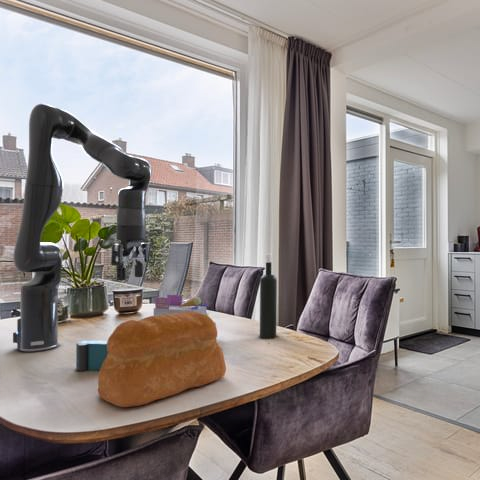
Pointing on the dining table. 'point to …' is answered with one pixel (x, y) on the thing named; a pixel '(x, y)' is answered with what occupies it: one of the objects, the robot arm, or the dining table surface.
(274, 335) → the wine bottle
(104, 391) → the bread
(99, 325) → the dining table surface
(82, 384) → the dining table surface
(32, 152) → the robot arm
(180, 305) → the toy vehicle
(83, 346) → the teal block
